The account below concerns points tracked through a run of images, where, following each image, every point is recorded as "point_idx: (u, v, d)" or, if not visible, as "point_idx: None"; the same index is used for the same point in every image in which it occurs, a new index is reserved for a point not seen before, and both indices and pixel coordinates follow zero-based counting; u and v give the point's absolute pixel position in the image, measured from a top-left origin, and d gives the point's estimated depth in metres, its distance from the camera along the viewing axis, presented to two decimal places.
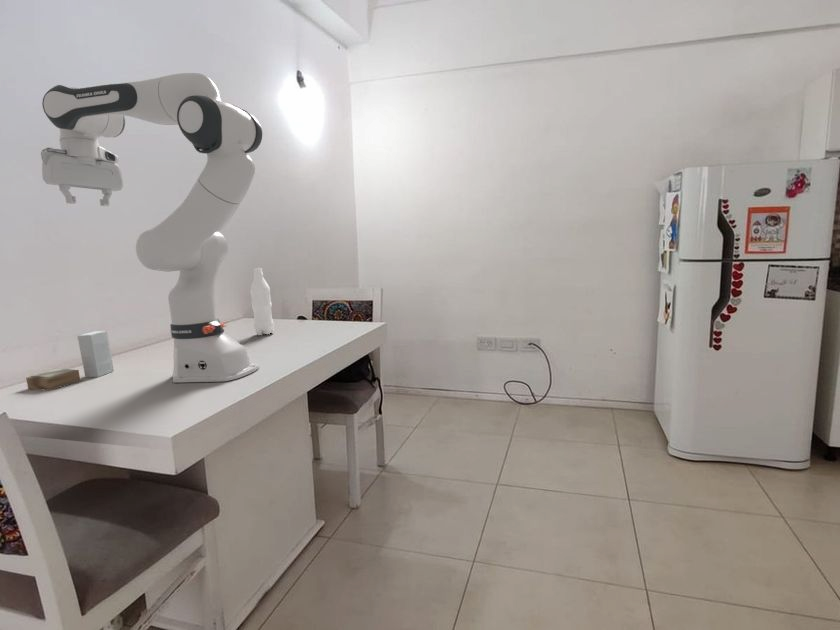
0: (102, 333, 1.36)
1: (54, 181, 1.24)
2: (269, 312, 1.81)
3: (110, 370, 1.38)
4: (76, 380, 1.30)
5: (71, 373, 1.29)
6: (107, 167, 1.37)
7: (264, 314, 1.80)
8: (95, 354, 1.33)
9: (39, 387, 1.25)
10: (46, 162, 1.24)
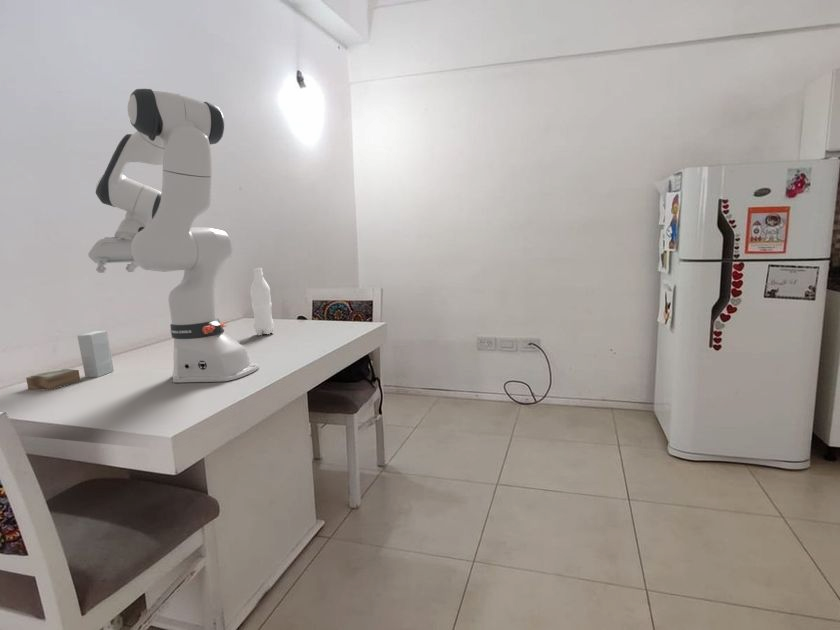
0: (102, 333, 1.36)
1: (89, 255, 1.46)
2: (269, 312, 1.81)
3: (110, 370, 1.38)
4: (76, 380, 1.30)
5: (71, 373, 1.29)
6: None
7: (264, 314, 1.80)
8: (95, 354, 1.33)
9: (39, 387, 1.25)
10: None
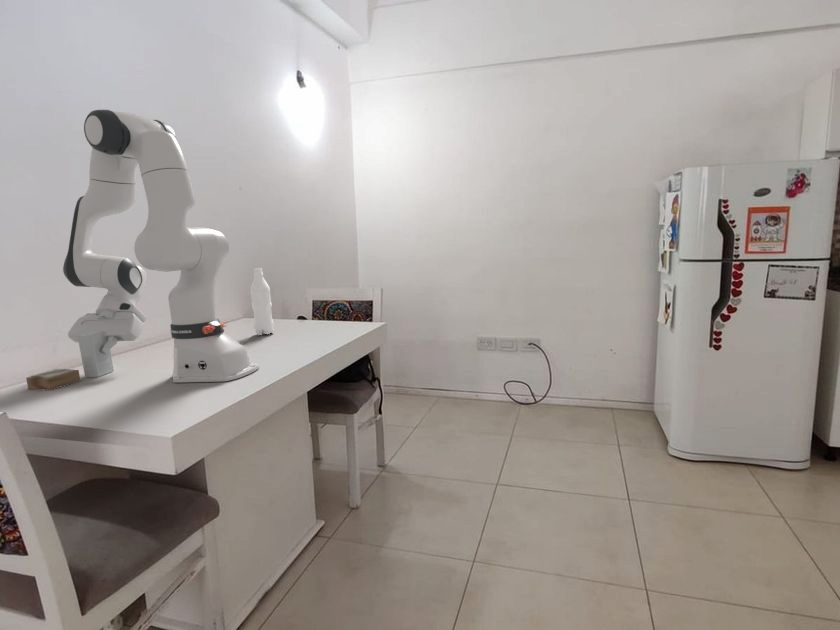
0: (102, 333, 1.36)
1: (68, 335, 1.38)
2: (269, 312, 1.81)
3: (110, 370, 1.38)
4: (76, 380, 1.30)
5: (71, 373, 1.29)
6: (122, 317, 1.39)
7: (264, 314, 1.80)
8: (95, 354, 1.33)
9: (39, 387, 1.25)
10: None
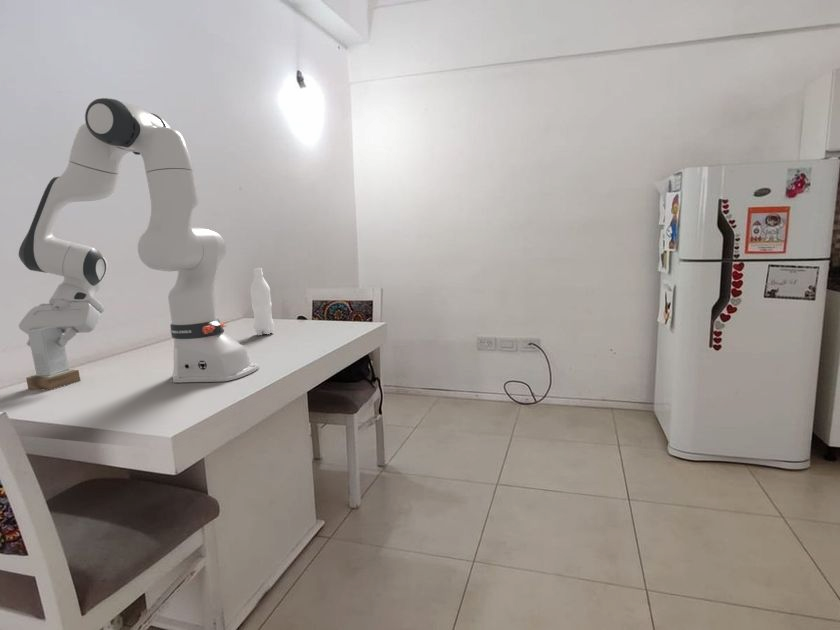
0: (55, 328, 1.27)
1: (19, 327, 1.29)
2: (269, 312, 1.81)
3: (64, 368, 1.29)
4: (76, 380, 1.30)
5: (71, 373, 1.29)
6: (77, 307, 1.30)
7: (264, 314, 1.80)
8: (47, 351, 1.24)
9: (39, 387, 1.25)
10: None
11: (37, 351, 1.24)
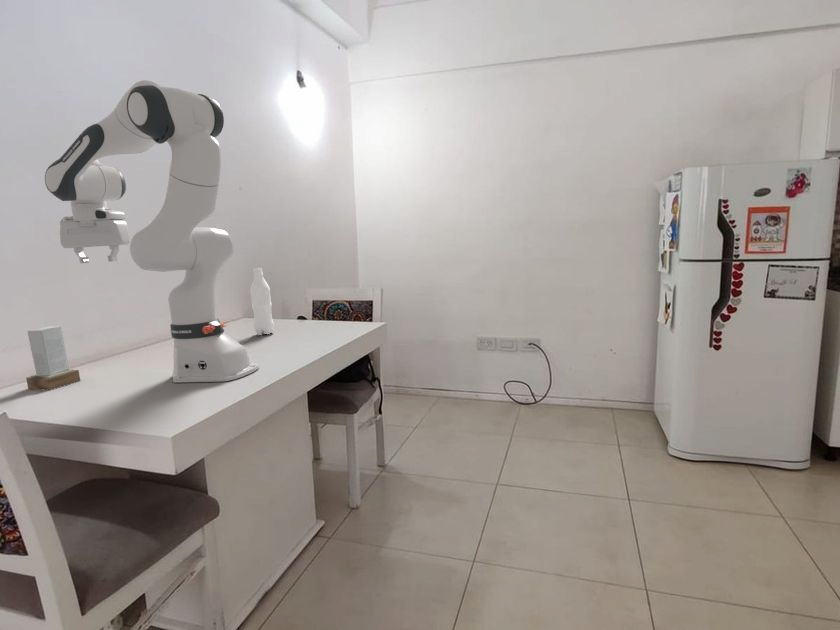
0: (55, 328, 1.27)
1: None
2: (269, 312, 1.81)
3: (64, 368, 1.29)
4: (76, 380, 1.30)
5: (71, 373, 1.29)
6: (105, 225, 1.40)
7: (264, 314, 1.80)
8: (47, 351, 1.24)
9: (39, 387, 1.25)
10: None
11: (37, 351, 1.24)
